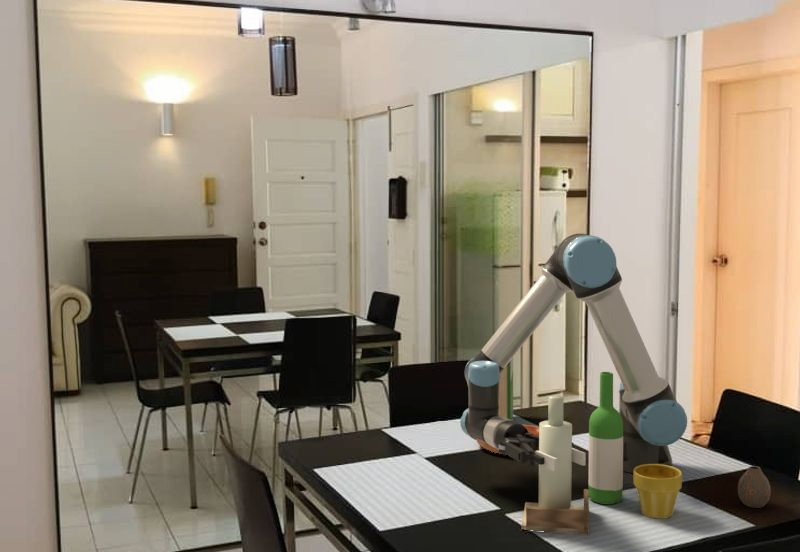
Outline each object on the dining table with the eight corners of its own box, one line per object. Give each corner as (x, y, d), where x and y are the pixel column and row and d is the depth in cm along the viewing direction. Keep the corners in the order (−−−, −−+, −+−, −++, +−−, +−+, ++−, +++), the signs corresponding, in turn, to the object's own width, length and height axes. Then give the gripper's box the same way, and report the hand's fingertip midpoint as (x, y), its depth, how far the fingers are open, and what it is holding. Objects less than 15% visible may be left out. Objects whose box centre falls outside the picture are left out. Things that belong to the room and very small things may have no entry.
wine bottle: (585, 493, 210) (586, 369, 207) (618, 493, 209) (620, 369, 206) (591, 505, 202) (592, 376, 199) (625, 505, 202) (627, 376, 199)
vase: (767, 512, 196) (768, 474, 196) (734, 507, 200) (735, 469, 199) (772, 503, 202) (773, 465, 201) (740, 497, 206) (741, 461, 205)
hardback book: (510, 431, 264) (510, 352, 261) (485, 430, 265) (485, 351, 263) (513, 416, 281) (513, 341, 279) (489, 415, 282) (489, 341, 280)
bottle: (571, 500, 196) (572, 394, 193) (570, 511, 189) (572, 401, 186) (539, 498, 197) (540, 392, 195) (537, 509, 190) (538, 400, 188)
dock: (588, 510, 199) (588, 489, 198) (588, 535, 185) (588, 512, 185) (525, 507, 201) (525, 486, 201) (521, 530, 188) (521, 508, 187)
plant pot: (653, 525, 190) (654, 481, 189) (623, 509, 199) (623, 467, 198) (691, 517, 194) (692, 474, 193) (659, 502, 203) (660, 461, 202)
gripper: (540, 445, 213) (605, 471, 193) (471, 457, 203) (532, 487, 183) (541, 414, 212) (606, 438, 192) (471, 425, 202) (532, 451, 182)
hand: (570, 462), depth 187 cm, fingers closed on bottle, 7 cm apart
